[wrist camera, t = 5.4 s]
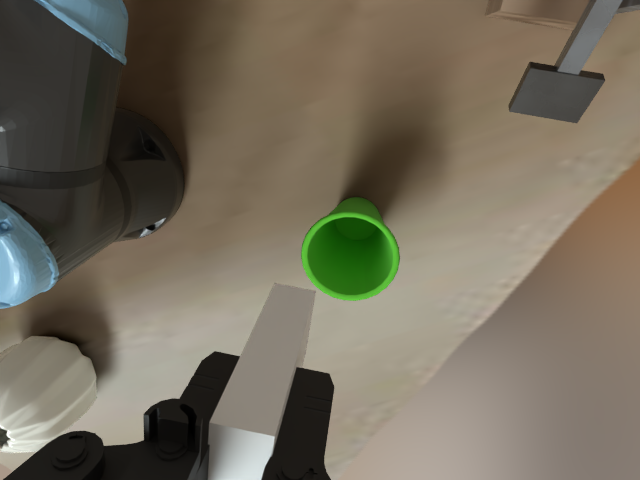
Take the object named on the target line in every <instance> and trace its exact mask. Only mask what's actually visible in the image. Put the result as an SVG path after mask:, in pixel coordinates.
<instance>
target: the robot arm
mask: <svg viewBox="0 0 640 480" xmlns="http://www.w3.org/2000/svg"><path fill="white" fill-rule="evenodd" d="M127 30H128V12H127V9H126V7H125V5H124V3H123V1H122V0H0V309H1V308H9V307H12V306H16V305H18V304H21V303H23V302H25V301H27V300H28V299H30V298H32V297H33V296H35V295H37V294H39V293H41V292H45V291H48V290H49V289H51V288H52V287H53V286H54V285H55V284H56V282H57V281H59V280H60V279H62V278H63V277H64V276H66V275H67V274H69V273H70V272H71V271H73V270H74V269H76V268H77V267H78V266H80V265H81V264H83V263H84V262H86V261H87V260H88V259H90V258H91V257H93V256H94V255H95V254H97V253H98V252H100V251H101V250H103V249H104V248H105V247H107V246H108V245H110V244H111V243H112V242H118V241H125V240H132V239H138V238H142V237H145V236H147V235H150V234H152V233H153V232H155V231H157V230H158V229H159V228H161V227H162V226H163V225H165V224H166V223H167V222H168V221H169V220H170V219H171V218H172V217H173V216H174V215H175V213H176V212H177V210H178V208H179V206H180V203H181V200H182V196H183V191H184V176H183V170H182V166H181V163H180V160H179V157H178V155H177V153H176V151H175V149H174V147H173V145H172V144H171V142H170V141H169V139H168V138H167V137H166V136H165V134H164V133H163V132H162V131H161V130H160V129H159V128H158V127H157V126H156V125H154V124H153V123H152V122H150V121H149V120H148V119H146V118H145V117H143V116H141V115H139V114H137V113H135V112H132V111H129V110H126V109H122V108H116V104H117V98H118V93H119V87H120V81H121V75H122V69H123V65H126V62H127V59H126V57H125V55H124V54H125V46H126V38H127ZM315 293H316V291H313V290H308V289H303V288H298V287H293V286H288V285H283V284H277V283H275V284H274V286H273V288H272V290H271V292H270V294H269V296H268V298H267V301H266V303H265V305H264V307H263V309H262V311H261V313H260V315H259V318H258V320H257V322H256V324H255V326H254V328H253V330H252V333H251V335H250V337H249V339H248V341H247V343H246V345H245V347H244V350H243V352H242V354H241V356H235V355H230V354H225V353H221V352H216V351H215V352H213V353H212V354H210V355H209V356H208V357H206V358H205V359H204V360H202V361H201V363H200V365H199V366H198V368H197V370H196V372H195V374H194V376H193V377H192V378H191V380H190V382H189V384H188V386H187V387H186V389H185V390H184V392H183V394H182V395H181V397H180V399H168V400H164V401H160V402H159V403H157V404H155V405H153V406H151V407H150V408H149V409H148V410H147V411H146V412H145V413H144V440H143V441H140V442H138V443H133V444H127V445H113V446H104V445H103V442H102V439H101V438H100V437H98V436H97V435H96V434H95V433H91V432H87V431H73V432H69V433H66V434H63V435H60V436H58V437H57V438H55V439H53V440H52V441H50V442H49V443H47V444H46V445H45V446H44V447H42V448H41V449H40V450H39V451H37V452H36V453H35V454H34V455H33V456H31V457H30V458H29V459H28V460H27V461H25V462H24V463H23V464H22V465H20V466H19V467H18V468H17V469H16V470H14V471H13V472H12V473H11V474H10V475H8V476H7V477H6V478H5V479H3V480H331V479H330V477H329V476H328V474H327V472H326V469H325V465H324V455H325V448H326V441H327V434H328V427H329V420H330V413H331V406H332V400H333V393H334V385H333V382H332V380H331V377H330V374H328V373H323V372H319V371H314V370H309V369H304V368H302V365H303V361H304V357H305V353H306V348H307V342H308V336H309V330H310V323H311V317H312V311H313V305H314V299H315Z"/></svg>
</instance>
